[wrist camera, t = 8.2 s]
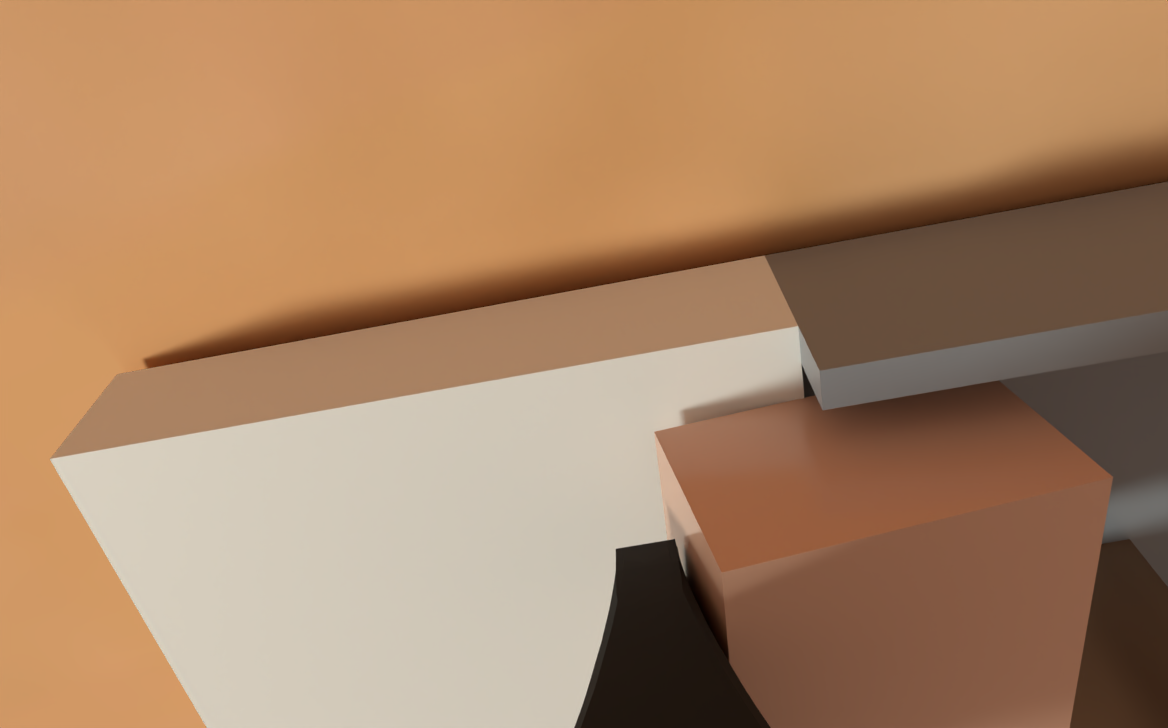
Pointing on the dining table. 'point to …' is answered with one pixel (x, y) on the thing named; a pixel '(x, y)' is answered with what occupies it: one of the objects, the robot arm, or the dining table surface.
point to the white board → (416, 497)
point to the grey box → (1011, 329)
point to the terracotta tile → (891, 557)
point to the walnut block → (1124, 645)
